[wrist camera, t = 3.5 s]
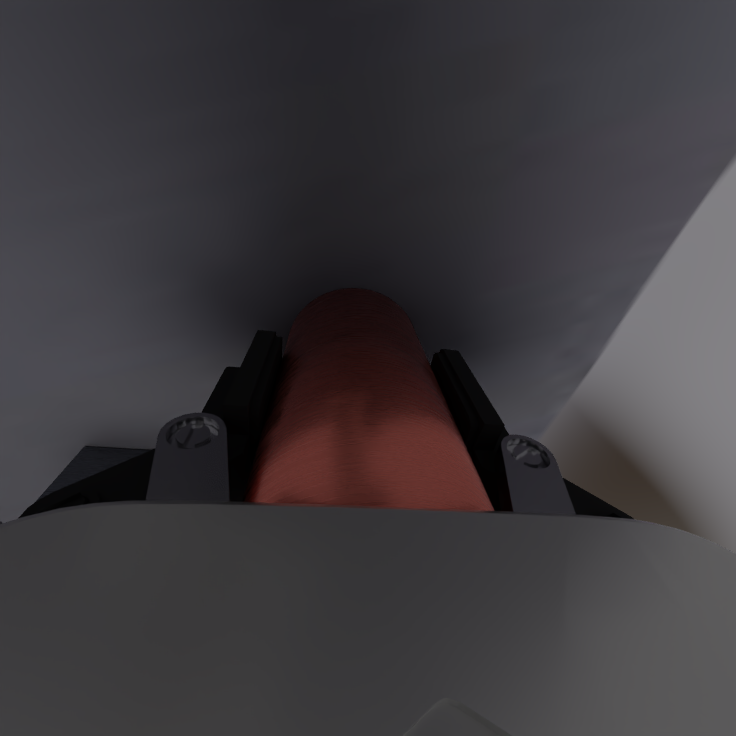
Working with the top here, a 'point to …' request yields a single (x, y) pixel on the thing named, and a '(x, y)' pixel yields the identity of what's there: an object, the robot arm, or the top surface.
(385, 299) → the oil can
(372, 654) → the robot arm
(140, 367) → the top surface
